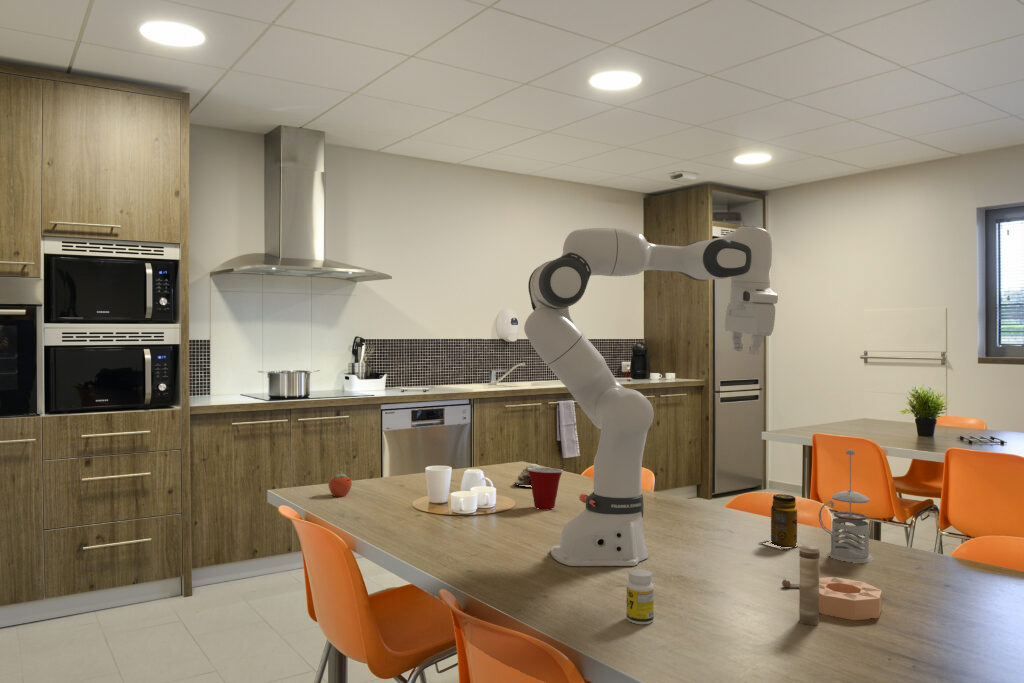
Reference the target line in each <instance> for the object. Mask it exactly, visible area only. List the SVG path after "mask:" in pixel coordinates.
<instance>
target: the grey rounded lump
mask: <svg viewBox="0 0 1024 683" xmlns="http://www.w3.org/2000/svg"><path fill="white" fill-rule="evenodd" d="M533 467H541V466H540V465H538V464H537V463H530V464H528V465H526V468H523V469H522V472H520V474H519V475H518V476H517V479H516V480H515V481H514V483H515V484H518V485H531V479H530V475H529V471H528V469H527V468H533ZM515 484H514V485H515Z"/></svg>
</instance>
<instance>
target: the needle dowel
mask: <svg viewBox="0 0 1024 683" xmlns="http://www.w3.org/2000/svg"><path fill="white" fill-rule="evenodd" d="M802 545H803V546H800V547H799V549H798V550H799V584H800V588H799V610H798V611H799V616H798V618H799V623H801V624H804V625H808V626H817V625H819V624H820V612H819V578H820V557H821V556H820V555H821V554H820V548H819V547H817V546H814V545H807V544H806V545H805V544H802Z"/></svg>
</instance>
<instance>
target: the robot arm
mask: <svg viewBox="0 0 1024 683" xmlns="http://www.w3.org/2000/svg"><path fill="white" fill-rule="evenodd" d="M772 260H773V243H772V237H771V233H770V232H769V231H768V230H766V229H765V228H763V227H759V226H753V225H741V226H739V227H738V228H737V229H735V230H734V231H732V232H729V233H728V234H726V235H723V236H719V237H716V238H713V239H712V238H711V239H706V240H696V241H692V242H690V243H687V244H685V245H682V246H680V245H679V246H678V245H666V244H655V243H652V242H651V243H650V242H648V241H647V238H646V237H645V236H644V235H643V234H642V233H639V232H637V231H632V230H628V229H623V228H615V227H614V228H613V227H592V228H591V227H590V228H582V229H575V230H573V231H571V232H570V233H569V234H568V235H567V236H566V238H565V240H564V242H563V246H562V254H561V256H560V257H558V258H556V259H553V260H549V261H546V262H544V263H542V264H540V265H539V266H538V267H536V268H535V269H534V270H533V272H532V273H531V275H530V277H529V280H528V288H527V289H528V294H529V298H530V303H531V308H532V310H533V311H532V312H531V313H529V315H528V317H527V318H526V319H525V320H526V321H525V322H524V328H523V329H524V330H523V331H524V334H525V335H526V337H527V339H528V341H529V343H530V345H531V346H532V348H533V349H534V350H535V352H536V353H537V354H538V356H539V357H540V358H541V360H542V361H543V362H544V364H546V365H547V367H548V368H549V369H550V370H551V371H552V373H553V374H554V375H555V376H556V377H557V379H558V380H560V382H561V383H562V384H563V385H564V387H565V388H566V389H567V390H568V392H569V393H570V394H571V396H572V397H573V398H574V401H576V403H577V405H578V406H579V407H580V409H581V410H582V412H583V413H584V414H585V415H586V416H587V418H588V420H590V421H591V423H592V424H593V425H594V426H595V427H596V428H597V429H600V434H599V436H600V437H599V440H598V447H597V450H596V454H595V456H594V459H593V492H592V493H590V494H589V495H588V494H586V492H585V493H584V492H582V493H580V495H579V497H578V500H580V502H582V503H583V504H585V509H583V511H581V512H580V513H579V514H578V515H576V516H575V517H574V518H573V519H571V520H570V521H569V522H567V524H565V525H564V526H563V528H562V530H561V534H560V535H561V536H560V539H559V540H560V541H559V544H556V545H552V547H551V548H550V556H551V557H552V559H554V560H556V561H557V562H558V563H561V564H563V565H565V566H569V567H631V566H632V567H634V566H636V565H638V564H639V562H641V561H644V560H646V559H647V558H649V552H648V550H647V549H648V548H647V546H646V545H647V544H646V541H645V540H646V539H645V533H644V527H643V526H644V525H643V518H644V509H645V508H644V506H645V505H644V503H645V502H644V494H643V493H642V472H643V471H642V469H643V467H642V466H643V458H644V451H645V446H646V441H647V436H648V431H649V430H650V428H651V426H652V424H653V422H654V416H655V411H654V407H653V405H652V403H651V401H650V400H649V399H648V398H647V397H646V396H645V395H643V393H642V392H641V391H638V390H636V389H632V388H627V387H624V386H623V385H622V384H621V383H619V381H618V380H617V379H616V377H615V375H614V374H613V373H612V371H611V369H610V368H609V366H608V364H607V362H606V359H605V357H604V356H603V355H602V354H601V353H600V351H599V350H598V349H597V348H596V347H595V346H594V345H593V343H592V342H591V341H590V340H589V338H587V337H586V335H585V334H584V333H583V332H582V331H581V329H580V328H579V327H578V326H577V325H576V324H575V323H574V321H573V320H572V318H571V316H570V315H571V314H570V311H569V308H570V307H571V306H573V305H576V303H578V302H579V301H580V300H581V299H582V297H583V296H584V294H585V292H586V290H587V286H588V284H589V280H590V277H591V276H603V277H626V276H627V277H629V276H635V275H639V274H641V273H642V272H645V271H662V272H663V271H664V272H674V273H675V272H676V273H679V274H682V275H684V276H685V277H687V278H688V279H690V280H691V279H692V280H693V281H697V282H702V281H704V282H706V281H710V280H713V281H714V280H724V279H727V278H730V280H731V283H730V296H729V297H730V299H729V301H730V302H729V303H727V306H726V310H725V312H726V313H725V317H724V318H725V320H724V329H725V331H726V332H730V333H731V339H732V343H733V346H732V347H733V348H732V349H733V351H735V352H742V351H743V347H744V346H743V345H744V344H743V343H742V337H743V334H745V335H751V340H752V341H751V344H750V346H749V347H748V348H749V351H748V353H749V354H750V355H755V356H756V355H759V353H760V347H761V345H762V343H763V337H771V335H772V333H773V332H774V326H775V319H776V317H775V316H776V306H775V304H777V303H778V302H779V301H778V299H779V298H778V297H779V295H778V293H776V292H775V291H774V290H773V289H771V280H770V270H771V267H772Z"/></svg>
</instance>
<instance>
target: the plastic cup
mask: <svg viewBox="0 0 1024 683" xmlns="http://www.w3.org/2000/svg"><path fill="white" fill-rule="evenodd" d="M527 469H528V471H529V475H530V479H531V486H532V488H531V491H532V498H533V504H534V505H533V506H534V508H535V507H536V508H539V509H551V508H554V509H555V506H556V500H557V496H558V492H559V491H558V489H559V485H560V484H559V483H560V481H561V477H562V473H563V472H564V470H563V469H561V468H554V467H542V466H540V467H533V468H527ZM536 508H535V509H536ZM539 509H538V510H539ZM551 510H552V509H551Z"/></svg>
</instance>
